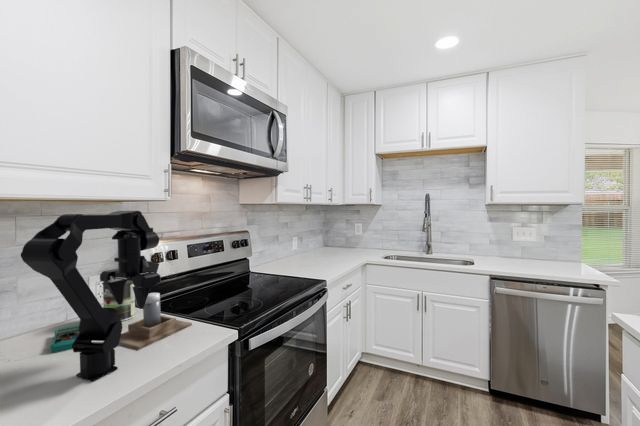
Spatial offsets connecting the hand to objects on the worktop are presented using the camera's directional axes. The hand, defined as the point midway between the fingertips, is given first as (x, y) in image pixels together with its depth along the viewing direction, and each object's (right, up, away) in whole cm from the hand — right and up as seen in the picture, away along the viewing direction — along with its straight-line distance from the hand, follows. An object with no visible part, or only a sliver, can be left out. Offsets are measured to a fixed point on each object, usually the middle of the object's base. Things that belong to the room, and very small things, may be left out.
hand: (130, 306), depth 91 cm
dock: (0, -13, +12) cm, 18 cm away
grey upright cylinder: (0, -12, +12) cm, 17 cm away
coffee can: (-20, -13, +27) cm, 36 cm away
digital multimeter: (-24, -14, +6) cm, 28 cm away
